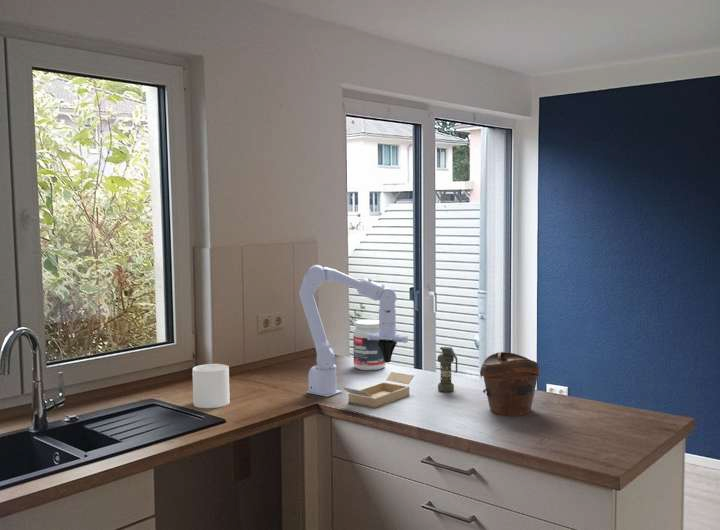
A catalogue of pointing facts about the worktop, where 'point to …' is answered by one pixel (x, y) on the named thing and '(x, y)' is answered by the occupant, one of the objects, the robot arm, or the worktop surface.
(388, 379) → the far flap
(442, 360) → the grenade
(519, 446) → the worktop surface
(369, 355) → the supplement tub
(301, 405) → the worktop surface
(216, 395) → the white cylinder
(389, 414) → the worktop surface
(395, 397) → the light wood shallow tray
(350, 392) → the near flap
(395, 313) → the robot arm
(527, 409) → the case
